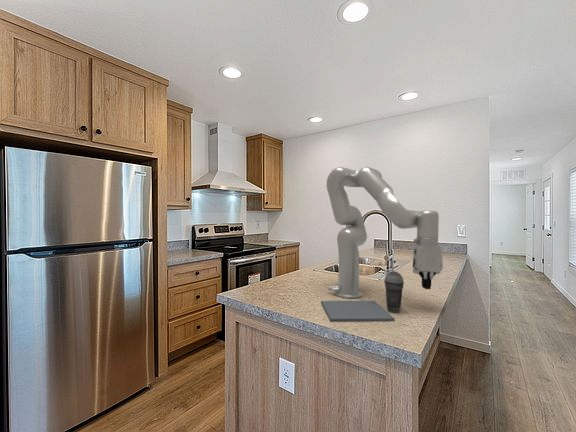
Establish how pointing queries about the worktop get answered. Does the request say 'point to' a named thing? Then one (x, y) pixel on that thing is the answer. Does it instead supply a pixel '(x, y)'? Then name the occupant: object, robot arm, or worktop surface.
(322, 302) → the rubber mat
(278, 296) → the worktop surface
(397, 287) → the beverage cup
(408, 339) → the worktop surface
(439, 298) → the worktop surface
